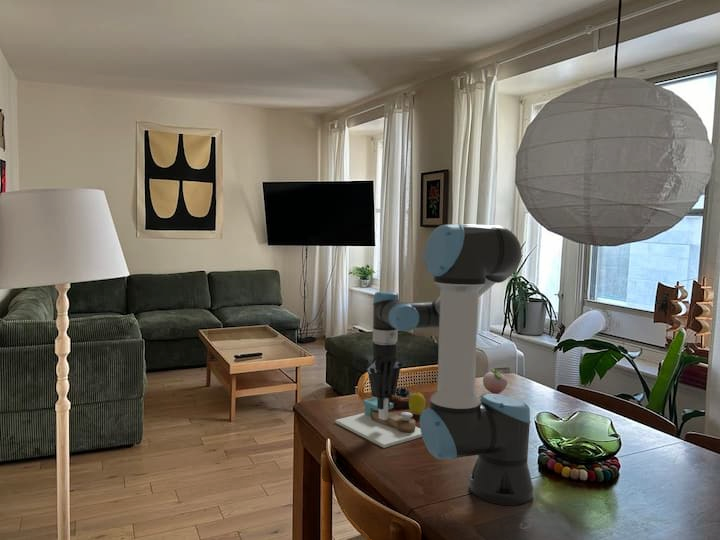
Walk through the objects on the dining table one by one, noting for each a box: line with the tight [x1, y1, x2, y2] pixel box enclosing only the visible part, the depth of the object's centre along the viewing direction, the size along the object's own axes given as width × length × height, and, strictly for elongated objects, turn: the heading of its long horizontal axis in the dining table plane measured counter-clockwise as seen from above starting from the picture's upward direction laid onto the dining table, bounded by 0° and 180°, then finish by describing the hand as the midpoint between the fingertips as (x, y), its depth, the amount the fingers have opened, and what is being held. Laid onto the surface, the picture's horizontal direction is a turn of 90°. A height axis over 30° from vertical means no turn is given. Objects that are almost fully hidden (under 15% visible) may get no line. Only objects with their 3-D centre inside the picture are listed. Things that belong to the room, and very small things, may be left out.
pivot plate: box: [335, 411, 422, 449], centre depth 180 cm, size 24×18×6 cm
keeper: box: [363, 396, 393, 417], centre depth 188 cm, size 8×6×6 cm
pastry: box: [390, 387, 414, 410], centre depth 205 cm, size 11×12×6 cm
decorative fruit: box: [482, 368, 508, 394], centre depth 218 cm, size 9×8×10 cm
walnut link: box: [371, 410, 416, 432], centre depth 180 cm, size 16×6×2 cm, turn 44°
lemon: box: [408, 391, 426, 416], centre depth 193 cm, size 6×6×8 cm
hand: (383, 418), depth 177 cm, fingers closed
